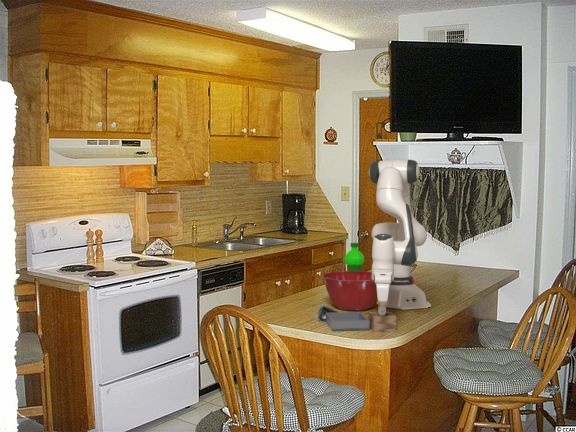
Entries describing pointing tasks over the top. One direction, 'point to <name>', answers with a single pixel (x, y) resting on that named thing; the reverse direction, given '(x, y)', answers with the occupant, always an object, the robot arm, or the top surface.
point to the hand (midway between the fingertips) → (382, 309)
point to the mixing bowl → (351, 289)
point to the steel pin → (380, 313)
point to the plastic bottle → (354, 258)
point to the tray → (347, 321)
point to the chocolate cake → (324, 312)
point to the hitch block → (382, 322)
